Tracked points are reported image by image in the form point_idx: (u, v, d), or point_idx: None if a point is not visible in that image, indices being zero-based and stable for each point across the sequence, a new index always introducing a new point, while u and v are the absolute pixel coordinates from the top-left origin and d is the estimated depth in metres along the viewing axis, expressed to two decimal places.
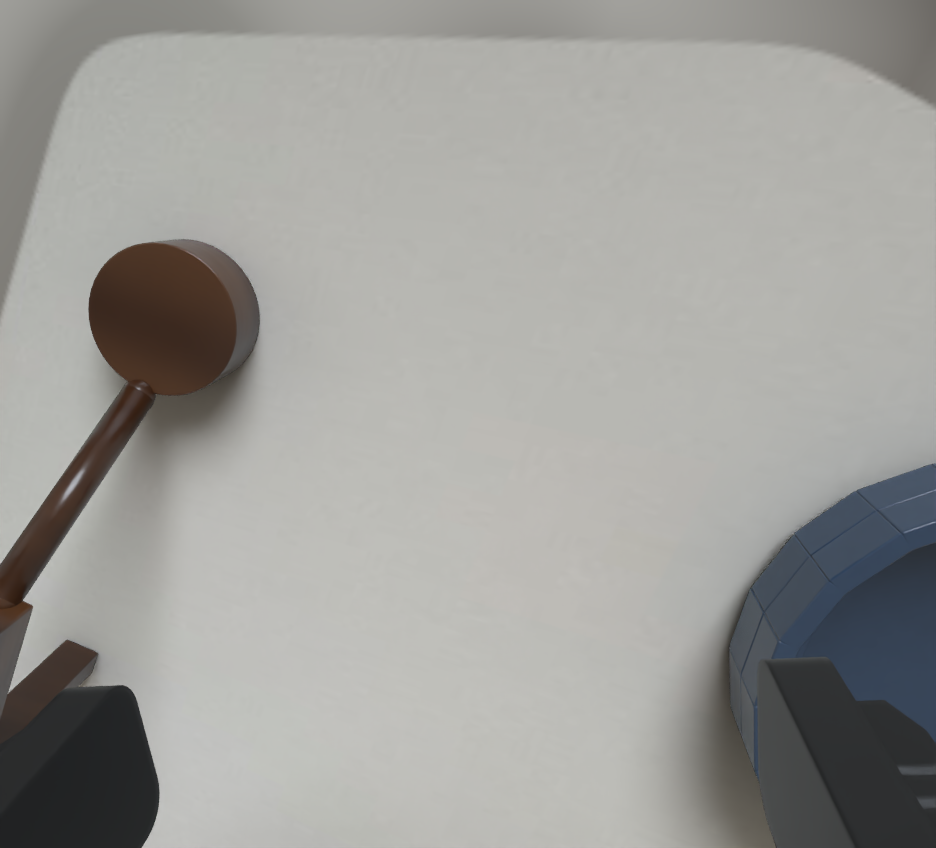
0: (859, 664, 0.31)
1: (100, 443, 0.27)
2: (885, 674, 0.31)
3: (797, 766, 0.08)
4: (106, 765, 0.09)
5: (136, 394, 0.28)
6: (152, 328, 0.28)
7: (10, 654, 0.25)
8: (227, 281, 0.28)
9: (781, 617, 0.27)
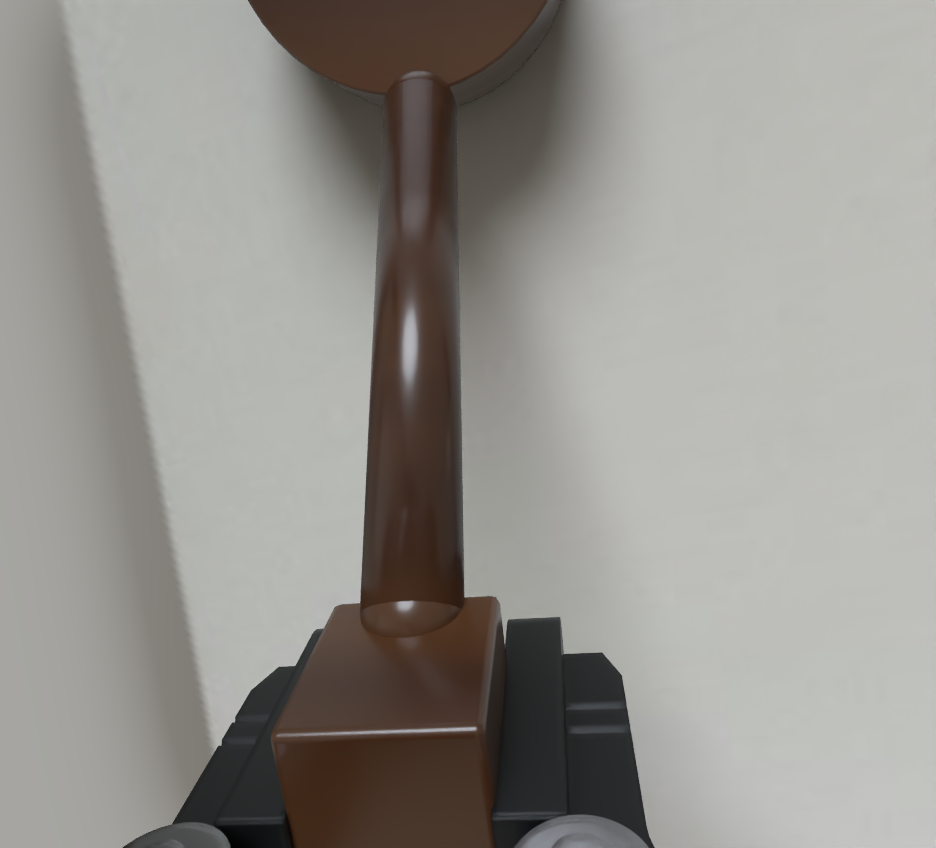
0: None
1: (414, 195, 0.11)
2: None
3: None
4: None
5: (421, 88, 0.12)
6: None
7: None
8: None
9: None
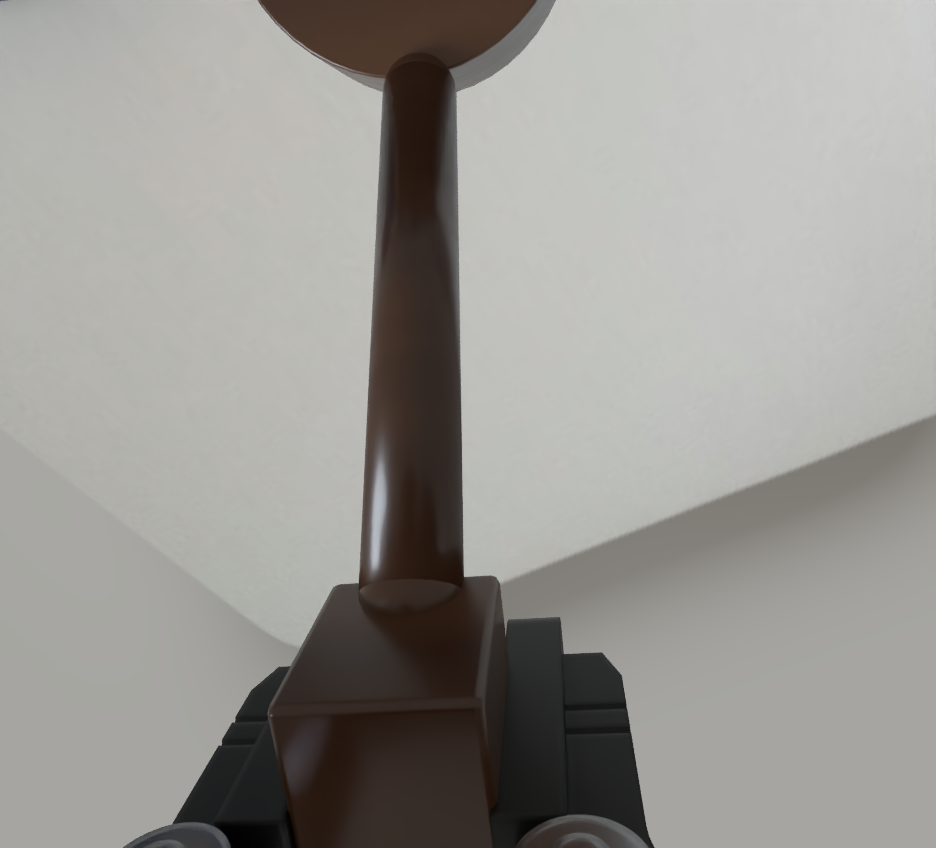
0: None
1: (414, 175, 0.11)
2: None
3: None
4: None
5: (421, 70, 0.12)
6: None
7: None
8: None
9: None
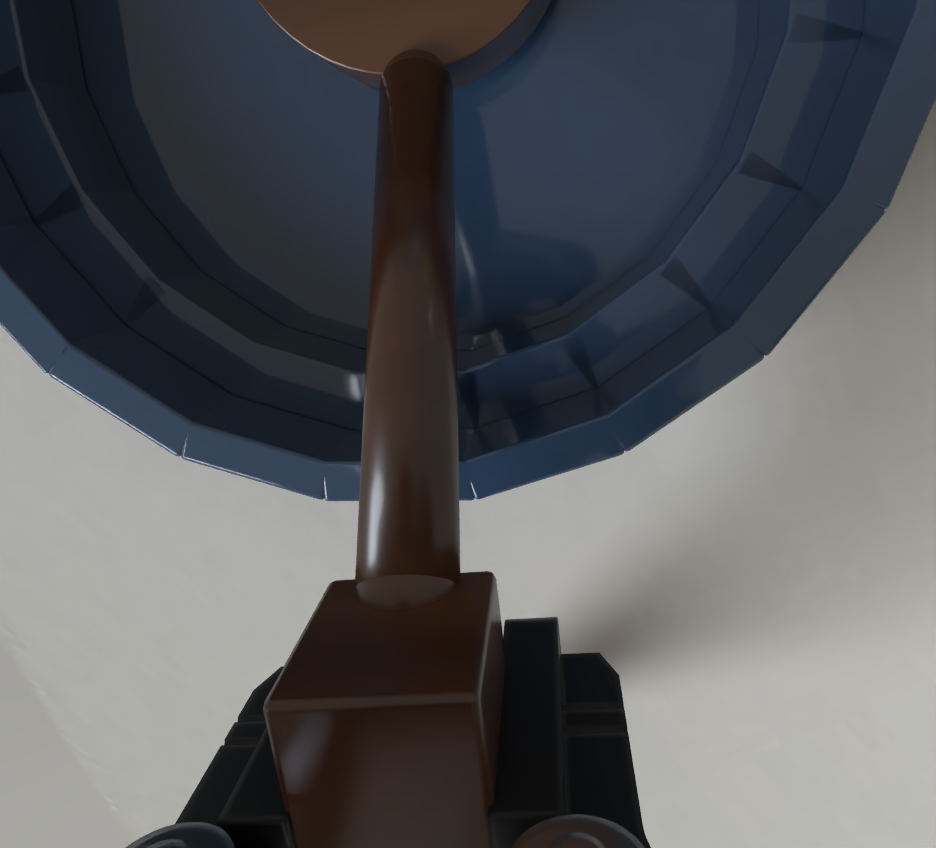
0: (546, 133, 0.15)
1: (411, 172, 0.11)
2: (518, 80, 0.15)
3: None
4: None
5: (417, 67, 0.12)
6: None
7: None
8: None
9: None
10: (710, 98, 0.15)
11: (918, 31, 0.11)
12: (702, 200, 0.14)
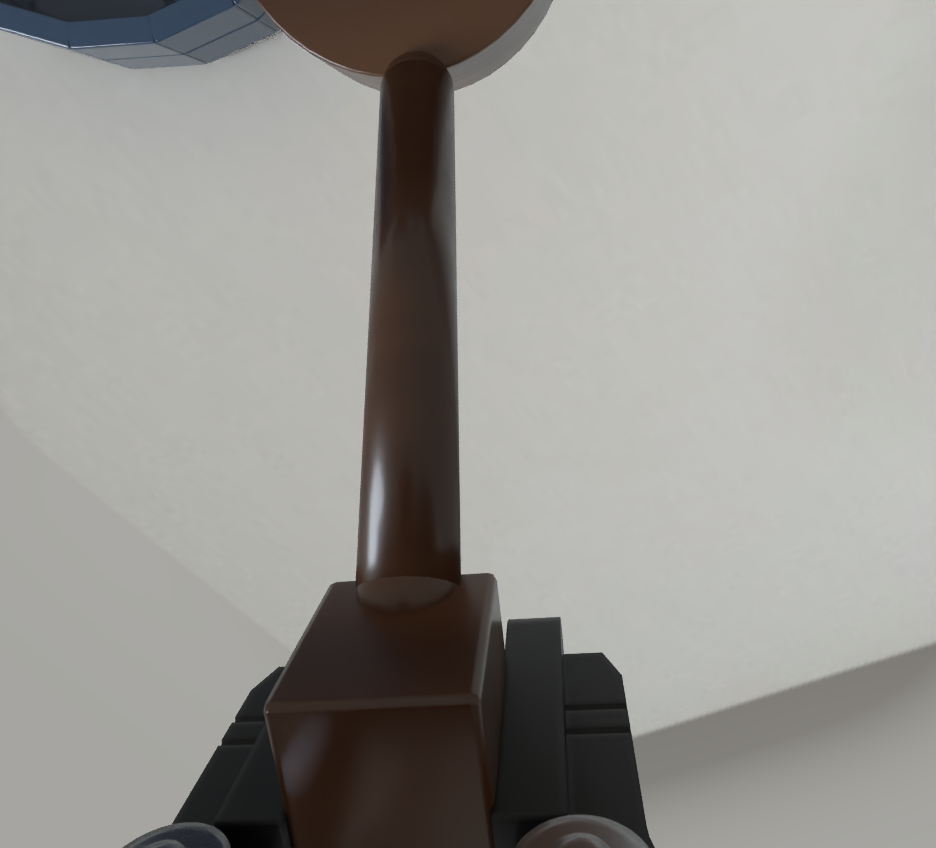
0: None
1: (411, 173, 0.11)
2: None
3: None
4: None
5: (418, 68, 0.12)
6: None
7: None
8: None
9: (229, 19, 0.24)
10: None
11: None
12: None
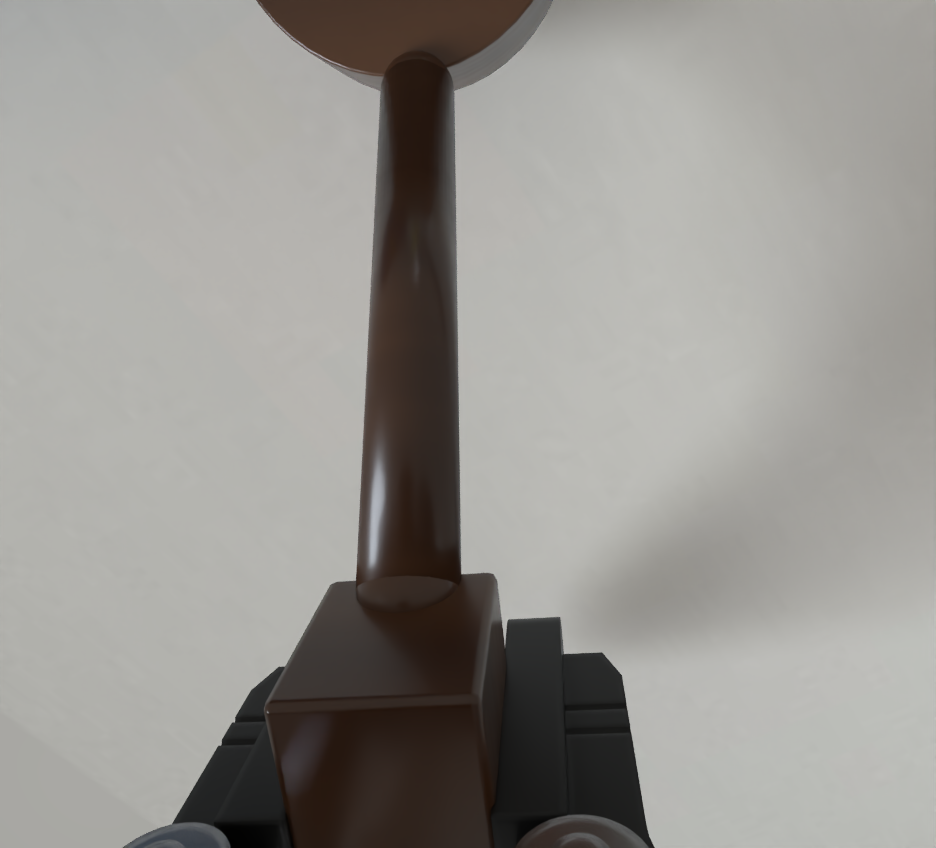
0: None
1: (413, 173, 0.11)
2: None
3: None
4: None
5: (419, 68, 0.12)
6: None
7: None
8: None
9: None
10: None
11: None
12: None
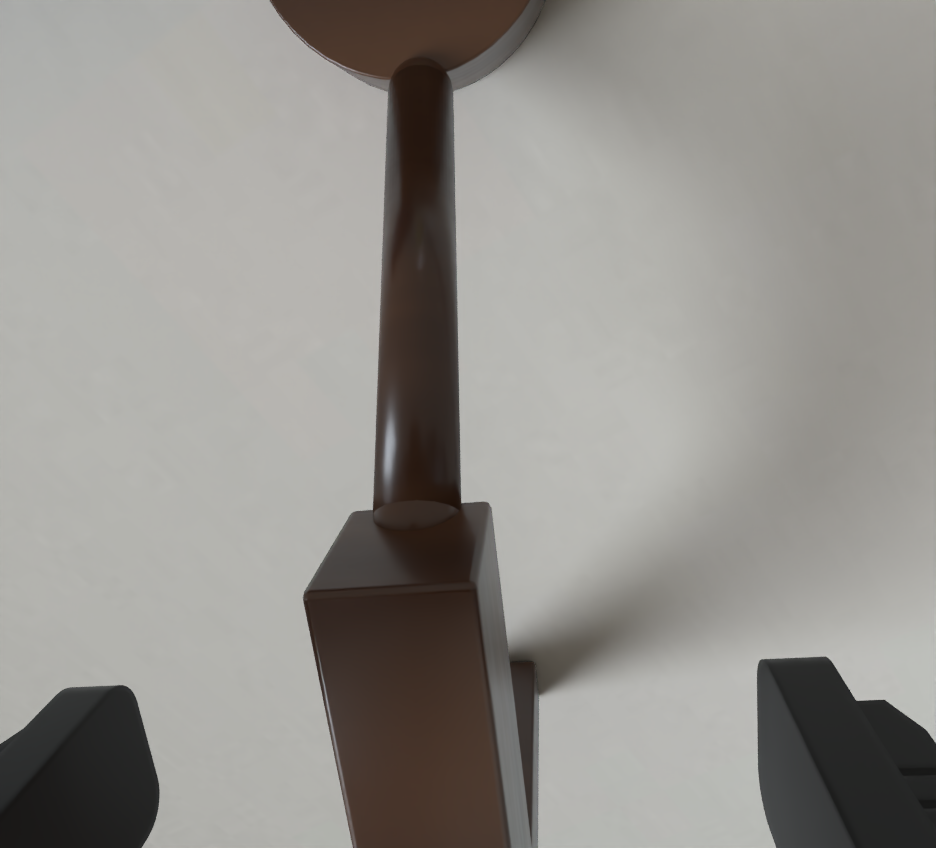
0: None
1: (417, 165, 0.12)
2: None
3: (797, 766, 0.08)
4: (106, 765, 0.09)
5: (422, 73, 0.14)
6: None
7: (500, 626, 0.10)
8: None
9: None
10: None
11: None
12: None
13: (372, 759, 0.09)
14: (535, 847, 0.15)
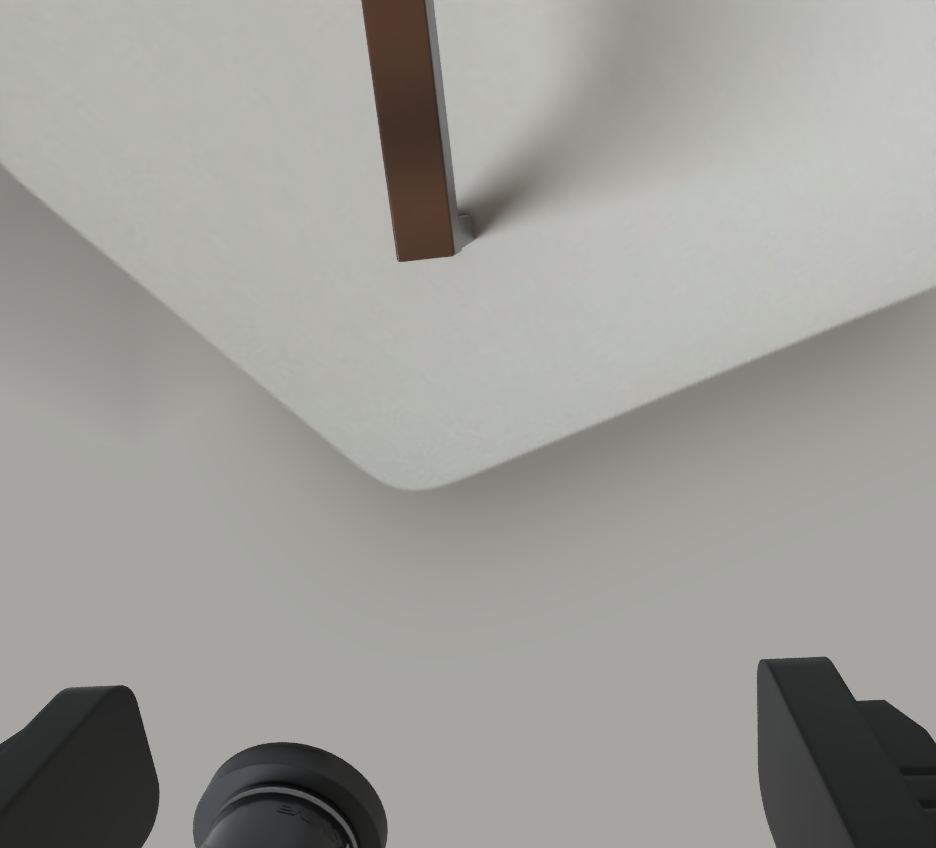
0: None
1: None
2: None
3: (797, 766, 0.08)
4: (106, 764, 0.09)
5: None
6: None
7: (434, 24, 0.25)
8: None
9: None
10: None
11: None
12: None
13: (382, 42, 0.24)
14: (461, 234, 0.30)
